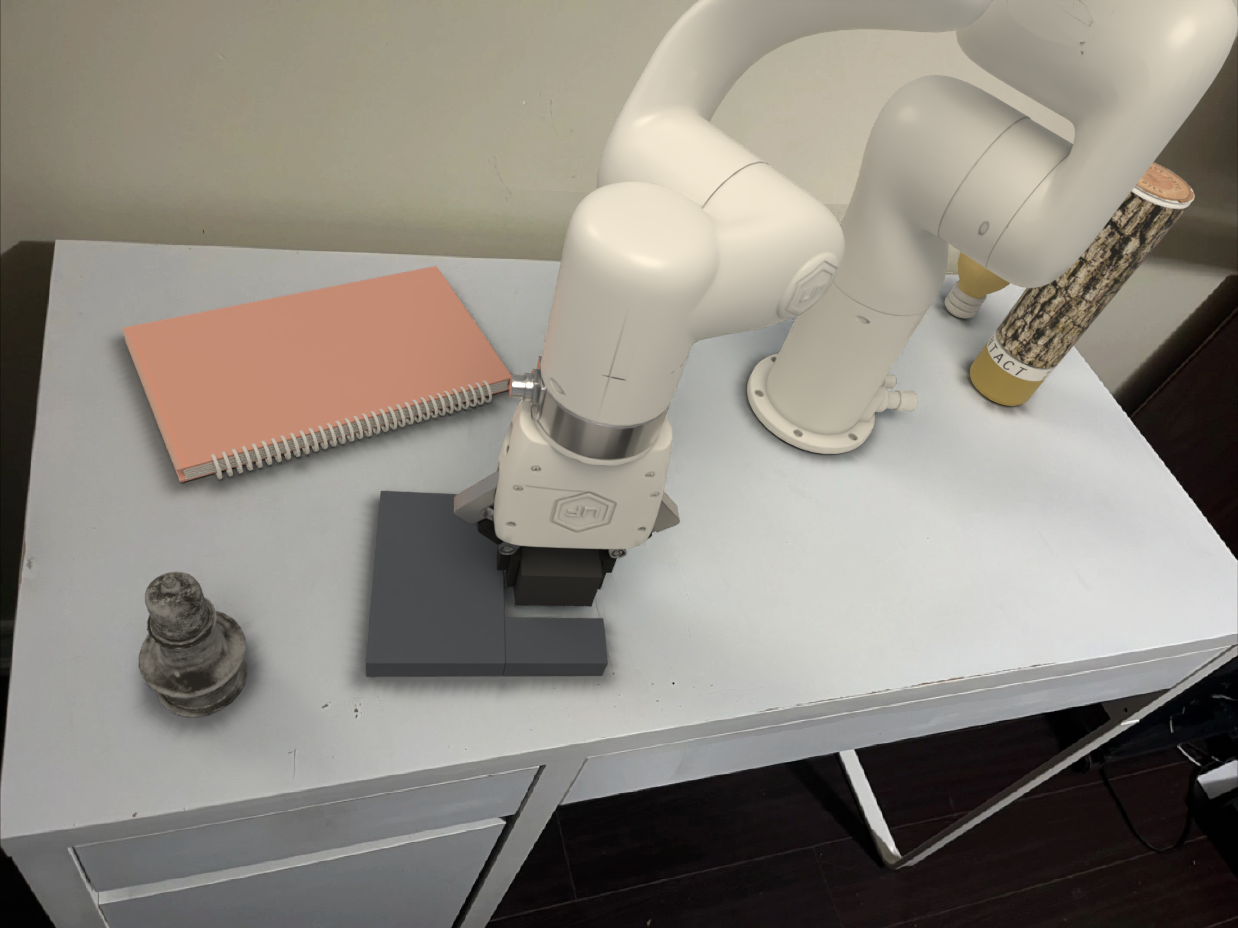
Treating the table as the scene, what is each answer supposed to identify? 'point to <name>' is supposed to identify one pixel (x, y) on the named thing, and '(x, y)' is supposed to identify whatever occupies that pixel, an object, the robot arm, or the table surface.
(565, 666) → the gray notched slab
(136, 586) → the table surface
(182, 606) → the chess piece
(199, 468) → the notebook
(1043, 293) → the paper tube
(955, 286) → the light bulb
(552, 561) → the pad piece
